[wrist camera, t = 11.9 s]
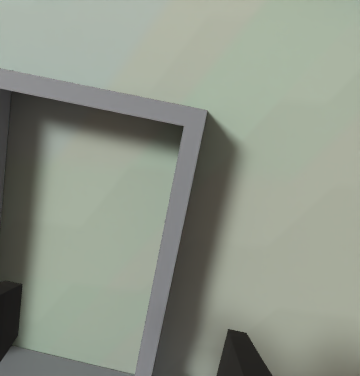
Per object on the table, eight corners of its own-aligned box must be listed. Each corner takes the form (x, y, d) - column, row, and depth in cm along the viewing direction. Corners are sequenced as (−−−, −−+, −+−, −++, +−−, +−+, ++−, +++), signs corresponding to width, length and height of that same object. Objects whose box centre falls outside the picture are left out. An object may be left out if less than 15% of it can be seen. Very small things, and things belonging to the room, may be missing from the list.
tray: (148, 390, 24) (140, 428, 21) (-138, 321, 25) (-184, 348, 22) (207, 111, 20) (207, 110, 17) (-142, 40, 21) (-200, 27, 18)
